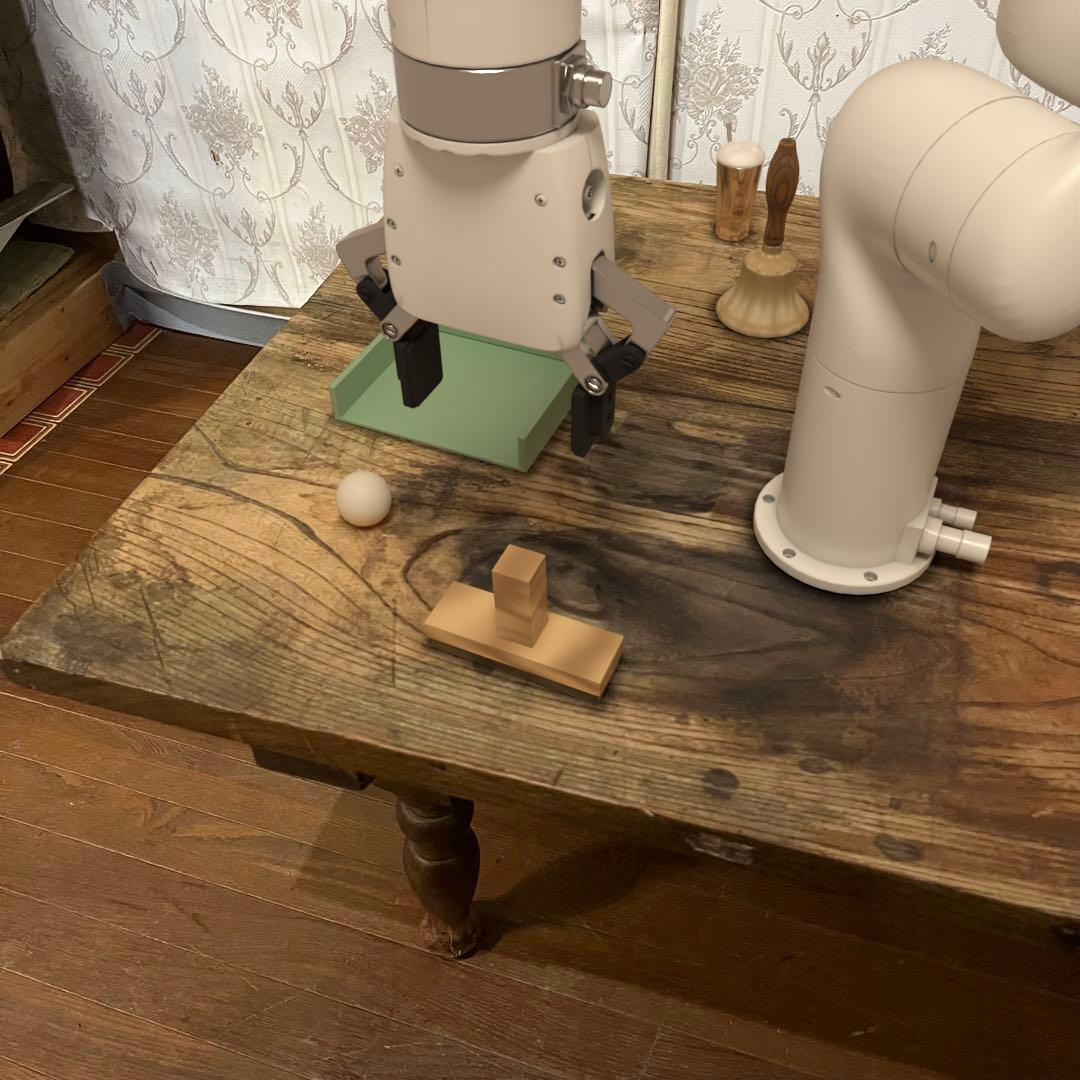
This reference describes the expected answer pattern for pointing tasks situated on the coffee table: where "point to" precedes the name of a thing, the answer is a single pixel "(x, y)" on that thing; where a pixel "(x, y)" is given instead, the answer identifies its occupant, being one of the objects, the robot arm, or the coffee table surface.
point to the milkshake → (736, 186)
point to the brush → (524, 630)
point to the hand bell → (769, 264)
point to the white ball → (363, 498)
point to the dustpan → (463, 398)
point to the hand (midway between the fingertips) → (504, 416)
